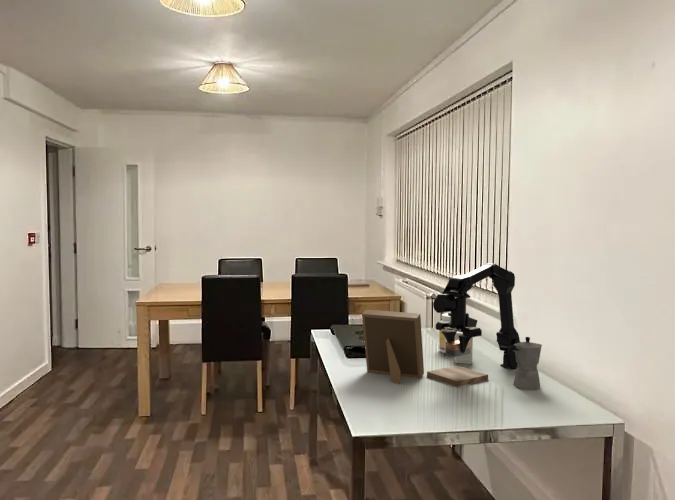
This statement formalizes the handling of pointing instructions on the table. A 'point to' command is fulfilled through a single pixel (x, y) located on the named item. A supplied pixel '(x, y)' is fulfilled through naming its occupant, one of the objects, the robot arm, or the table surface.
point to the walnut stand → (457, 376)
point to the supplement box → (464, 358)
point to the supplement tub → (441, 336)
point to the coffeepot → (526, 364)
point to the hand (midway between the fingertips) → (457, 351)
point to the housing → (455, 349)
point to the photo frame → (393, 343)
